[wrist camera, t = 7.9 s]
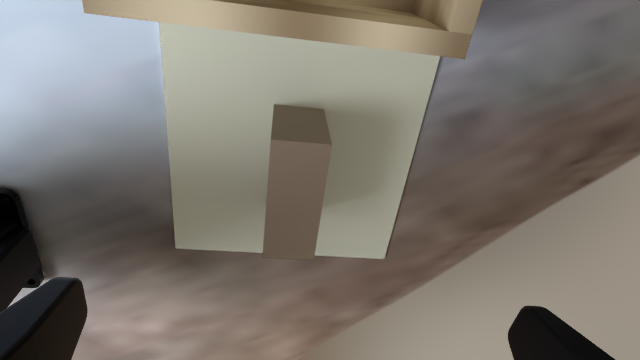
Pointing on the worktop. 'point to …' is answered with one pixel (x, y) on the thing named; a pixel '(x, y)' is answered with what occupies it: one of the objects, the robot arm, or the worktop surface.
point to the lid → (288, 141)
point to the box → (320, 20)
